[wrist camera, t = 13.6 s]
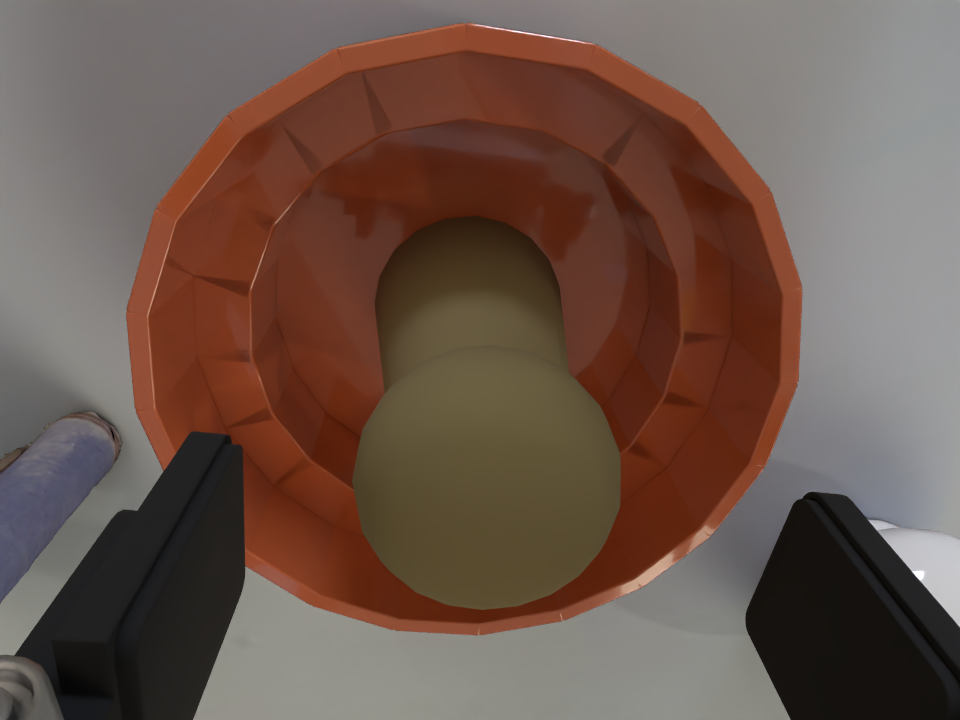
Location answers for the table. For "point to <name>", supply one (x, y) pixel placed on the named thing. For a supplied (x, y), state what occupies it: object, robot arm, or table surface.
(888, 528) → the flower vase
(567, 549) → the olive peg figure
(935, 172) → the table surface
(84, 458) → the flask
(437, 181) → the orange plant pot
